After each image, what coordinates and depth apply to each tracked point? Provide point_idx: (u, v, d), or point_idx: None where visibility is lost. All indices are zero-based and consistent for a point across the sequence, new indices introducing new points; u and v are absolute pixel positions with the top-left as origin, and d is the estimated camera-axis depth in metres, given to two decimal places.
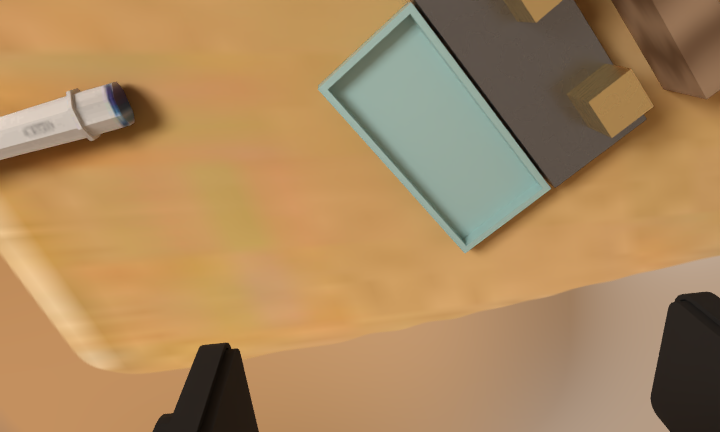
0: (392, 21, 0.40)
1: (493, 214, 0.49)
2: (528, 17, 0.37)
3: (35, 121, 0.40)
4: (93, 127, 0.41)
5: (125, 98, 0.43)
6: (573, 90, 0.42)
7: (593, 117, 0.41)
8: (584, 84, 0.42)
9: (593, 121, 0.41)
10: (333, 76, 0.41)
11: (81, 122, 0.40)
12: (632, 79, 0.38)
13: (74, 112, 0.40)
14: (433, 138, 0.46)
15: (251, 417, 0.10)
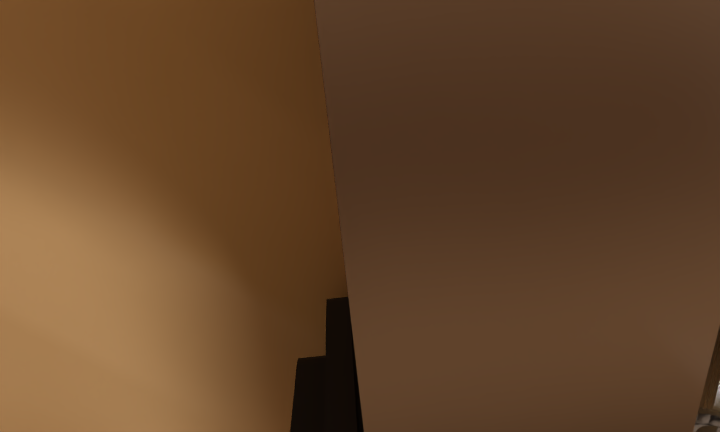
0: None
1: None
2: None
3: None
4: None
5: None
6: None
7: None
8: None
9: None
10: None
11: None
12: None
13: None
14: None
15: None
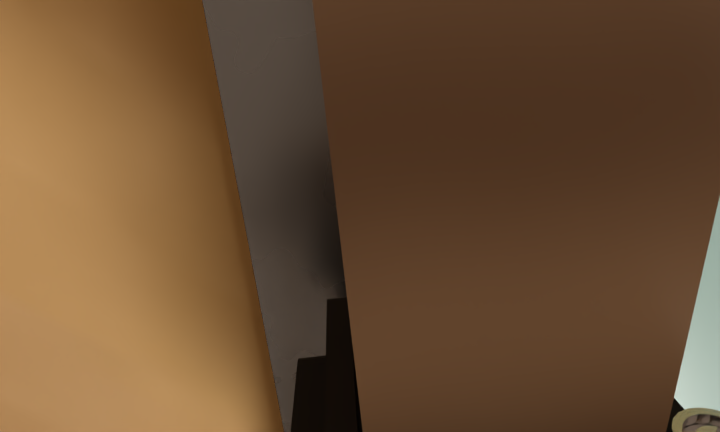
0: None
1: None
2: None
3: None
4: None
5: None
6: None
7: None
8: None
9: None
10: None
11: None
12: None
13: None
14: None
15: None
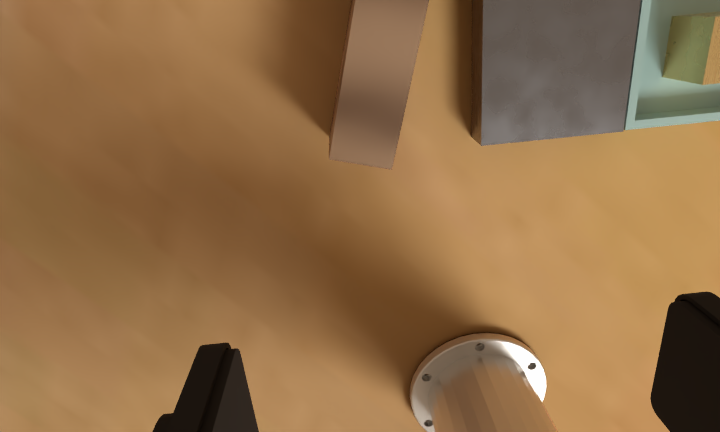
0: (654, 125, 0.34)
1: None
2: None
3: None
4: None
5: None
6: None
7: None
8: None
9: None
10: None
11: None
12: None
13: None
14: None
15: (251, 417, 0.10)
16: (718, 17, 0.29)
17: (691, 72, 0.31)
